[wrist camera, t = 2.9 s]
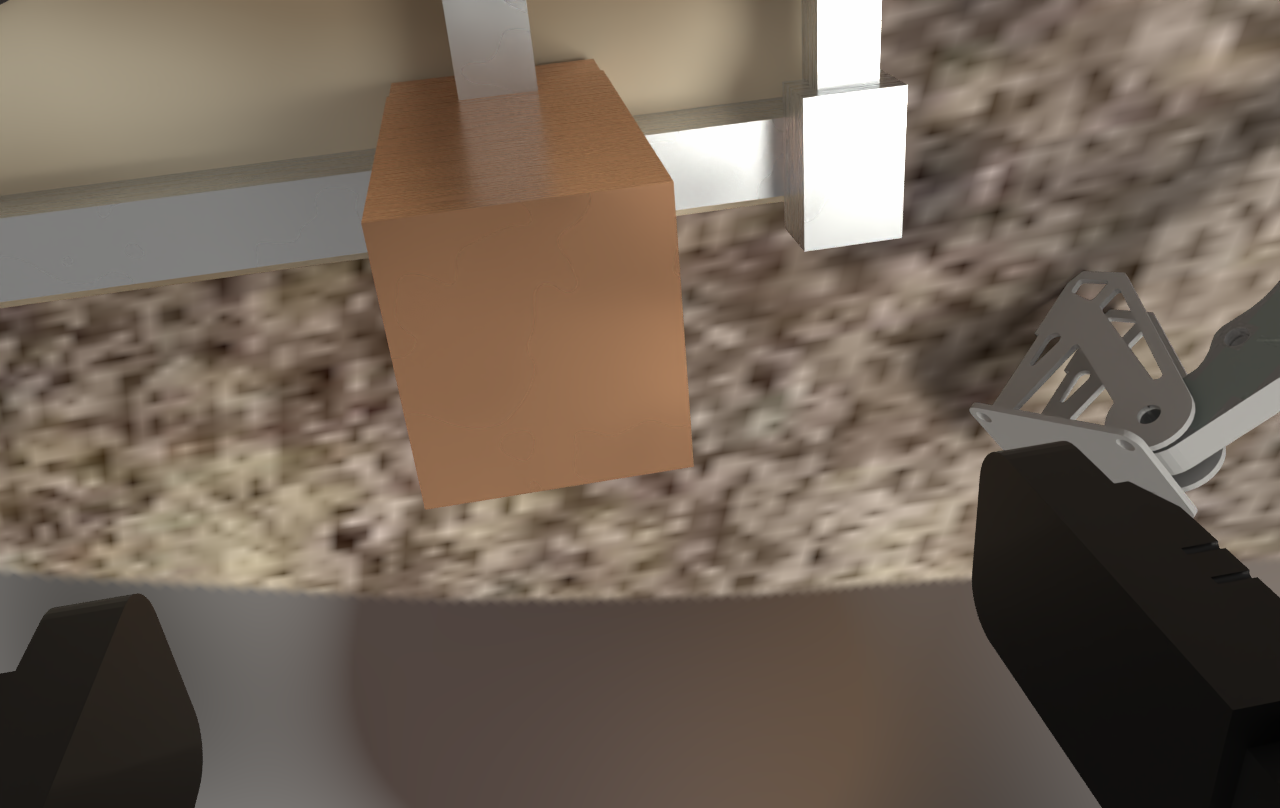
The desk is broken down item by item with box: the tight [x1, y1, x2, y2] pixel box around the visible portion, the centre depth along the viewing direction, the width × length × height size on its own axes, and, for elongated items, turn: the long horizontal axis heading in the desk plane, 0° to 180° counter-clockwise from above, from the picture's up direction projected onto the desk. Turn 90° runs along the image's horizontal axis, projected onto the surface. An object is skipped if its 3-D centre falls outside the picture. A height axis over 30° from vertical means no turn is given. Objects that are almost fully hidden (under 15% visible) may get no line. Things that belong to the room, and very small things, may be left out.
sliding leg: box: [361, 0, 694, 510], centre depth 17 cm, size 9×4×9 cm, turn 5°
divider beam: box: [0, 0, 908, 302], centre depth 20 cm, size 8×20×3 cm, turn 95°
